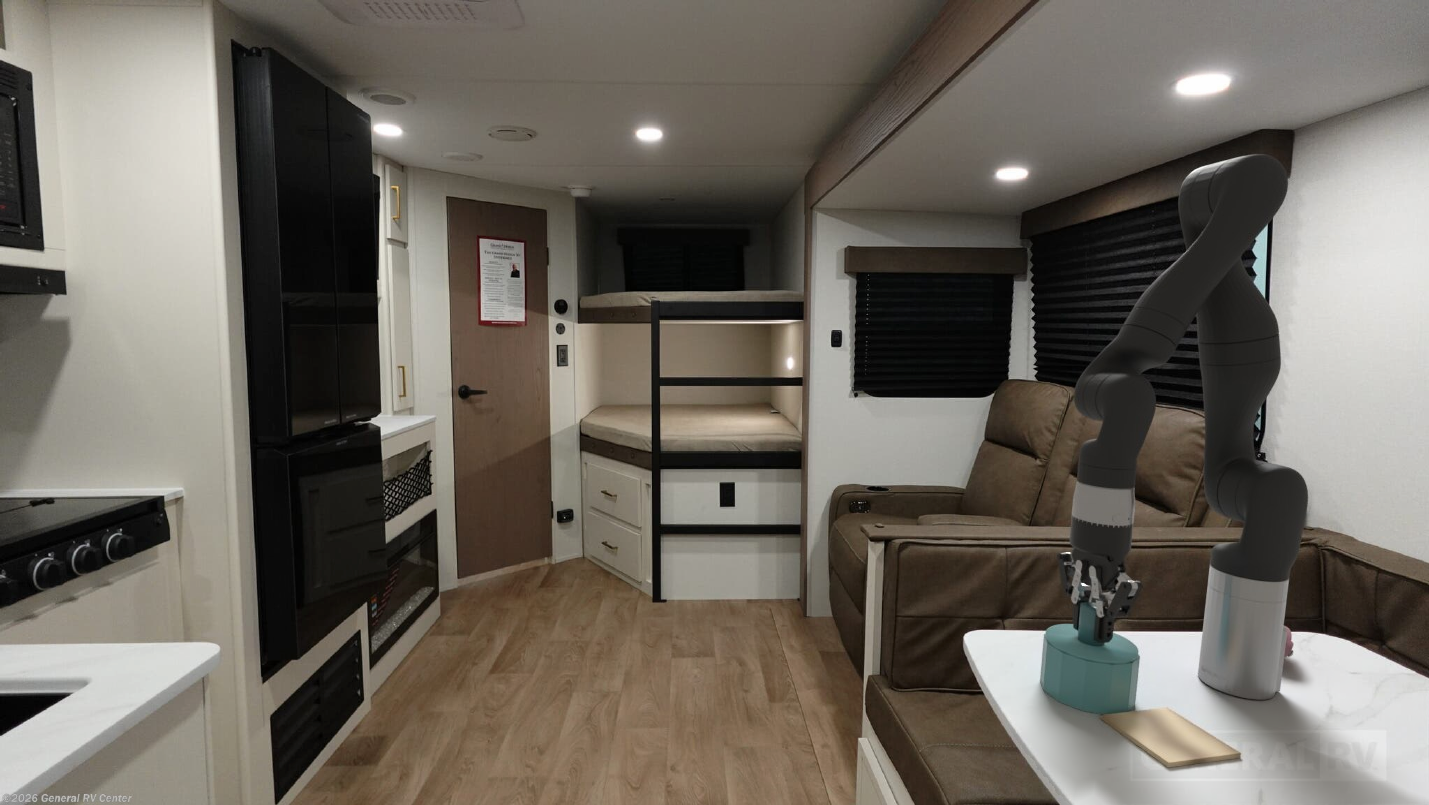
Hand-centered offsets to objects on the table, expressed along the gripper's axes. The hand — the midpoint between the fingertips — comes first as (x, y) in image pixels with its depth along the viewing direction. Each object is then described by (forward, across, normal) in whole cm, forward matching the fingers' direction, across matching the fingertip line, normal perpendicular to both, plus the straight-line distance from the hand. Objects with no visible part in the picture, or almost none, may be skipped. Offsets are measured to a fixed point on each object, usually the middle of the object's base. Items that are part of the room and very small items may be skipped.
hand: (1091, 635), depth 101 cm
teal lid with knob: (+8, 0, 0) cm, 8 cm away
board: (+8, -12, -2) cm, 15 cm away
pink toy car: (+9, +4, -37) cm, 39 cm away
